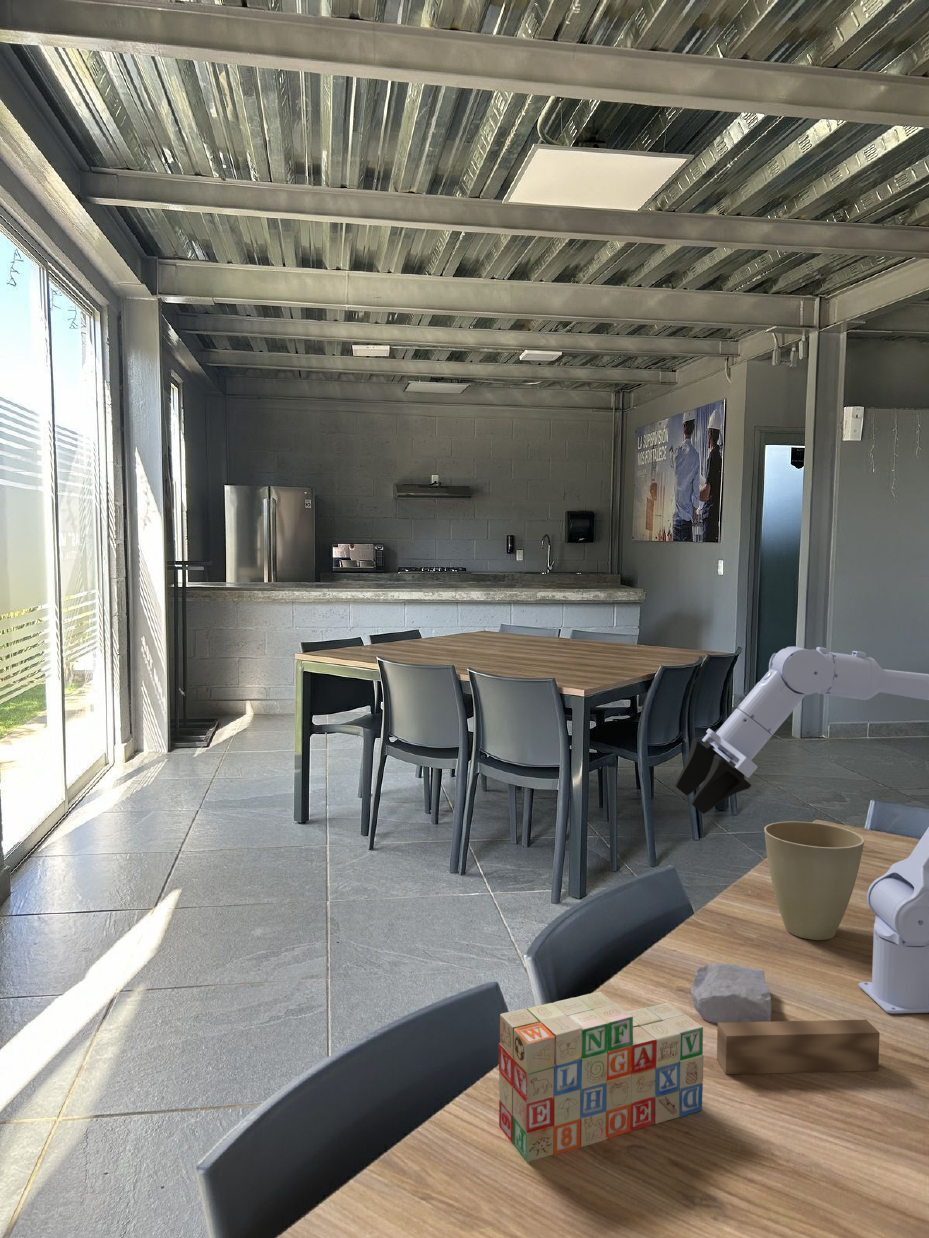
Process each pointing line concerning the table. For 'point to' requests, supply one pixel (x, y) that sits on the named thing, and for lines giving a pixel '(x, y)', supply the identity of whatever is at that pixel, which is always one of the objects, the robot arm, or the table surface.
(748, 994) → the stone block
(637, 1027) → the stack of blocks
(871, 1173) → the table surface
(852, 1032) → the board
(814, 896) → the plant pot
